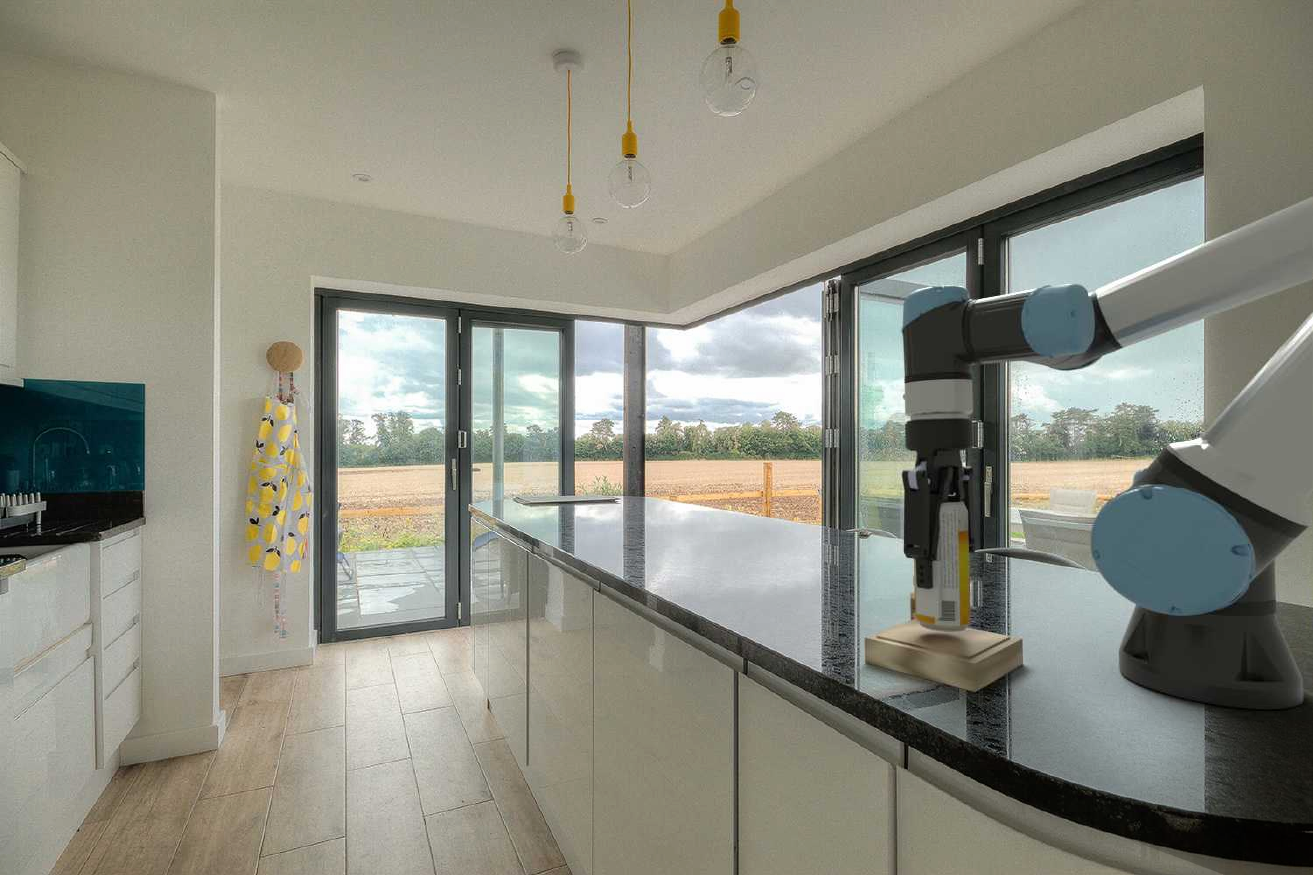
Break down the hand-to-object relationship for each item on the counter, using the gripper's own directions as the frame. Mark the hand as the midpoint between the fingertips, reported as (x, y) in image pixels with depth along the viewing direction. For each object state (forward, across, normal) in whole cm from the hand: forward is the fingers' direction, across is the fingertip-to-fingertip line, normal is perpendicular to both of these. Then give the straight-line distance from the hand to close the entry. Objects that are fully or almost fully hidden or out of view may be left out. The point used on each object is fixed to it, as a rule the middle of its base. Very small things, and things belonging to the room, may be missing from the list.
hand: (942, 610), depth 78 cm
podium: (+6, 0, 0) cm, 6 cm away
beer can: (+2, 0, 0) cm, 2 cm away
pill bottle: (+7, -12, -8) cm, 16 cm away
